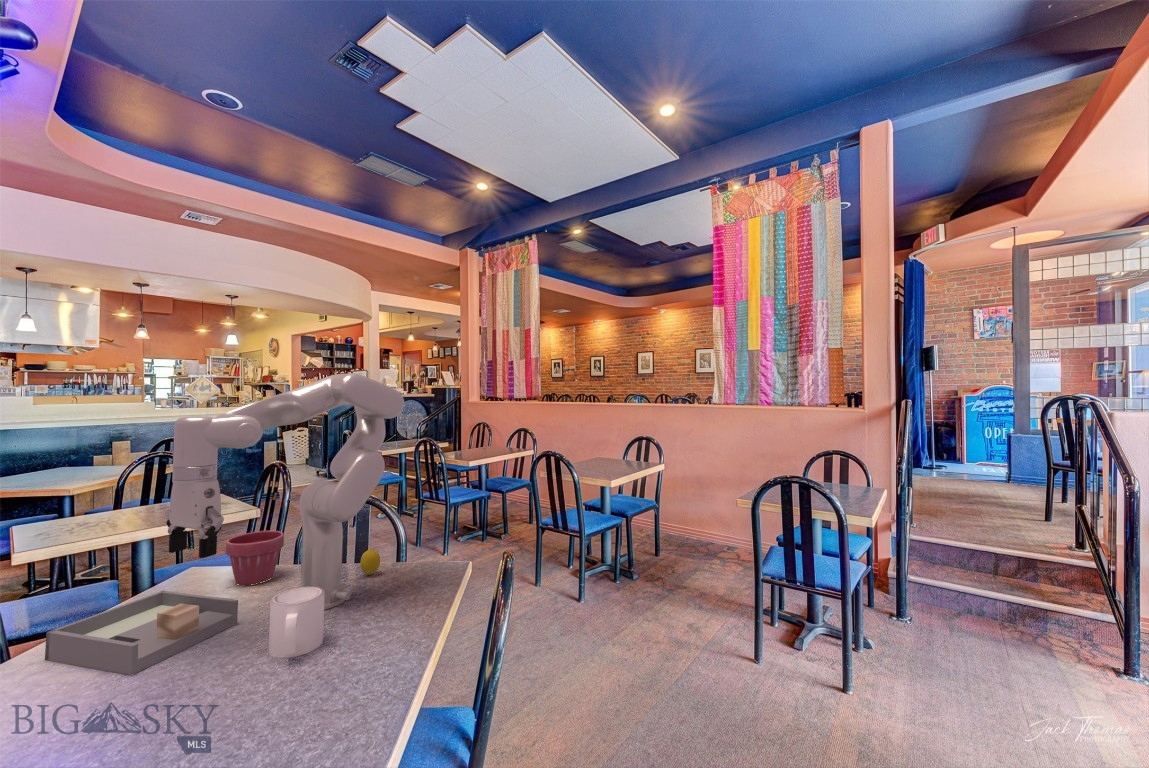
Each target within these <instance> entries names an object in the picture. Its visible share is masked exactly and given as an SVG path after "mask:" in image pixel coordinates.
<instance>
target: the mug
mask: <svg viewBox="0 0 1149 768" xmlns="http://www.w3.org/2000/svg"><path fill="white" fill-rule="evenodd" d="M324 596H325V591H324V589H323V588H321V587H316V586H306V587H300V586H299V587H294V588H289V589H286V590H283V591H281V592H278V593H276V594H274V595H273V596H272V597H271V598H270V601H269V604H270V605H269V606H270V607H269V632H268V633H269V635H268V655H269V656H271V657H273V658H277V659H287V658H295V657H299V656H303V655H305V654H308V653H310V652H312V651H314V650H316V649H318V648H319V647H320V646H321V645H322V644H323V642H324V631H325V630H324V627H325V626H324V625H325V624H324V623H325V622H324V620H325V610H324Z"/></svg>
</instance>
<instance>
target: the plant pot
mask: <svg viewBox="0 0 1149 768" xmlns="http://www.w3.org/2000/svg"><path fill="white" fill-rule="evenodd" d="M225 543H226V544H225V555H226V556H228V557H229V560H230V564H231V569H232V573H233V577H234V581H235V584H236V585H237V584H239V585H251V584H256V583H260V582H263V581H266V580H268V579H270V578H272V577H274V574H275V569H276V567H277V563H278V559H279V555H280V552H281V549H282V548H283V547H284V543H285V537H284V533H283V532H282V531H279V530H259V531H252V532H248V533H247V532H246V533H242V534H238V535H234V536H233V537H230V538H228V539H227V540H226V542H225ZM272 579H273V578H272ZM239 585H238V586H239ZM251 586H252V585H251Z"/></svg>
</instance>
